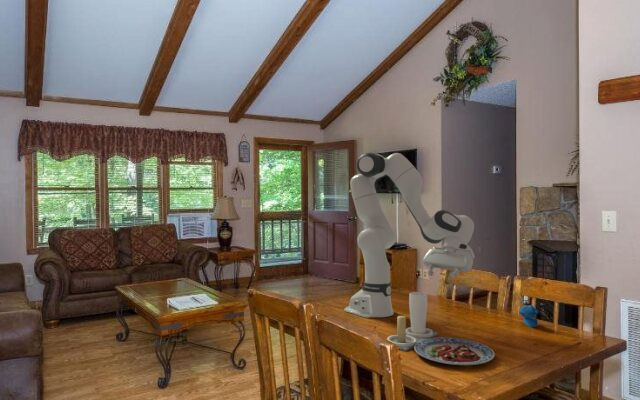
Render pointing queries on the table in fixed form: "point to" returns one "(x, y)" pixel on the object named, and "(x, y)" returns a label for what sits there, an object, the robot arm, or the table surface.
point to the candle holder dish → (408, 335)
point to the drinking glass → (418, 312)
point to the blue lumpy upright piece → (529, 315)
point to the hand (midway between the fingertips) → (440, 276)
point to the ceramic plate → (454, 351)
